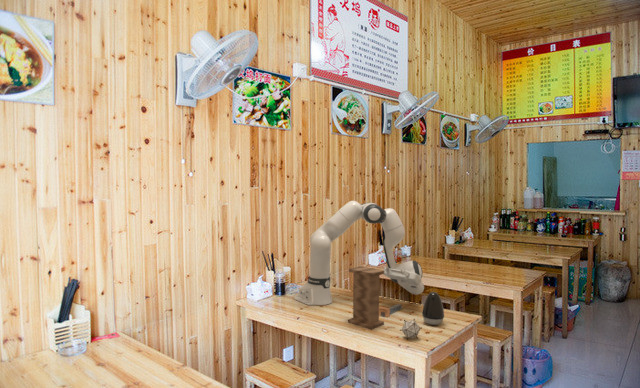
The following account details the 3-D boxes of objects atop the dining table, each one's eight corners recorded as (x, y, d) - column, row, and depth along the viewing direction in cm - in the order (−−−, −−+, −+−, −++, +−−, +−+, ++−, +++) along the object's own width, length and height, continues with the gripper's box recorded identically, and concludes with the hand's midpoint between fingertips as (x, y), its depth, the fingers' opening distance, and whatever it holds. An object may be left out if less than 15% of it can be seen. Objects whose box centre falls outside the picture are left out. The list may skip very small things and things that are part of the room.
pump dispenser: (420, 325, 205) (421, 293, 204) (423, 318, 215) (424, 288, 214) (443, 328, 201) (443, 296, 201) (444, 321, 211) (445, 290, 210)
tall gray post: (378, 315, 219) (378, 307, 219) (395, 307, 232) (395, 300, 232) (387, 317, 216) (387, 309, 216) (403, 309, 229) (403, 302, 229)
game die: (414, 347, 188) (422, 334, 181) (395, 339, 189) (403, 326, 183) (418, 332, 194) (425, 318, 188) (400, 323, 196) (407, 310, 190)
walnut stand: (347, 322, 207) (348, 269, 206) (360, 317, 215) (361, 265, 214) (371, 330, 198) (372, 273, 197) (383, 324, 205) (384, 270, 204)
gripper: (391, 270, 240) (379, 261, 231) (424, 277, 227) (413, 267, 218) (387, 281, 238) (375, 272, 229) (421, 288, 225) (409, 279, 215)
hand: (394, 269), depth 223 cm, fingers open, 8 cm apart
